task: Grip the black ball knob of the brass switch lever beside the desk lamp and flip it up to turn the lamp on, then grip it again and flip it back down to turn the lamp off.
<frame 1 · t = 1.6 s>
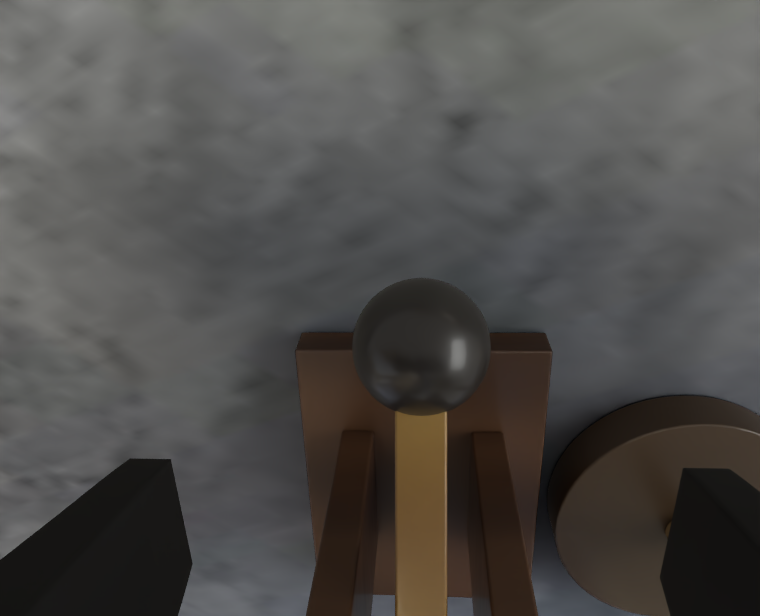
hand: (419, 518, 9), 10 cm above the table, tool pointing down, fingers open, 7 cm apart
switch bracket: (422, 462, 22), on the table
lamp switch: (421, 527, 14), point 7 cm above the table, hinge at -24.0°
desk lamp: (666, 494, 22), on the table
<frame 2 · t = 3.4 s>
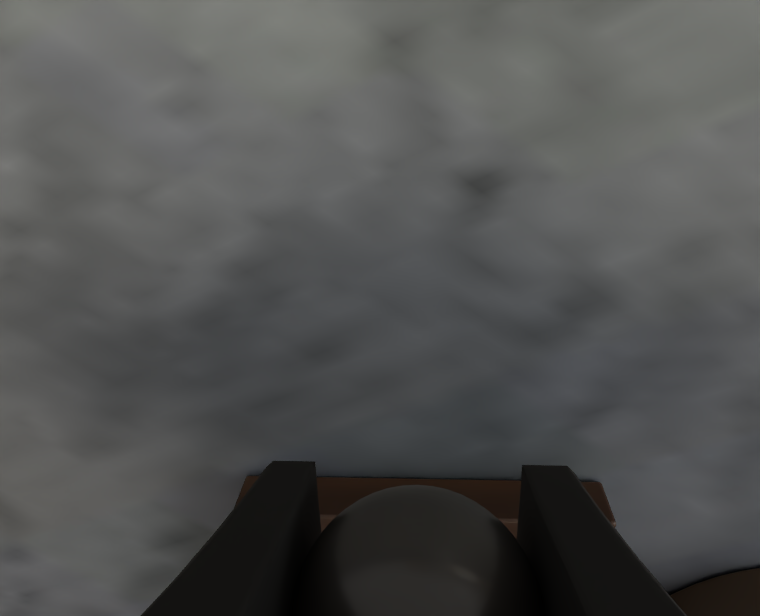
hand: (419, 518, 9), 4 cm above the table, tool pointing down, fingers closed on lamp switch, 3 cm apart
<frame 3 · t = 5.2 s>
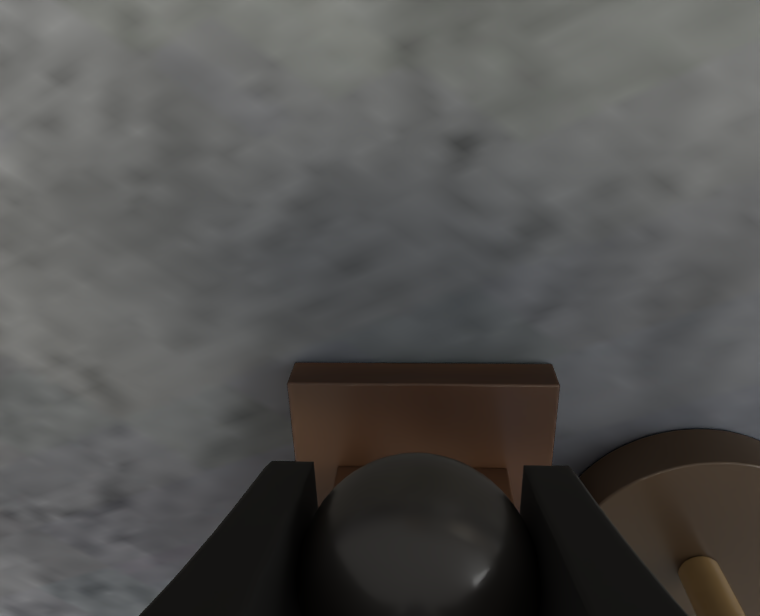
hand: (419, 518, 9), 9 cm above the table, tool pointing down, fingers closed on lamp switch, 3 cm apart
switch bracket: (422, 496, 21), on the table
desk lamp: (678, 530, 20), on the table
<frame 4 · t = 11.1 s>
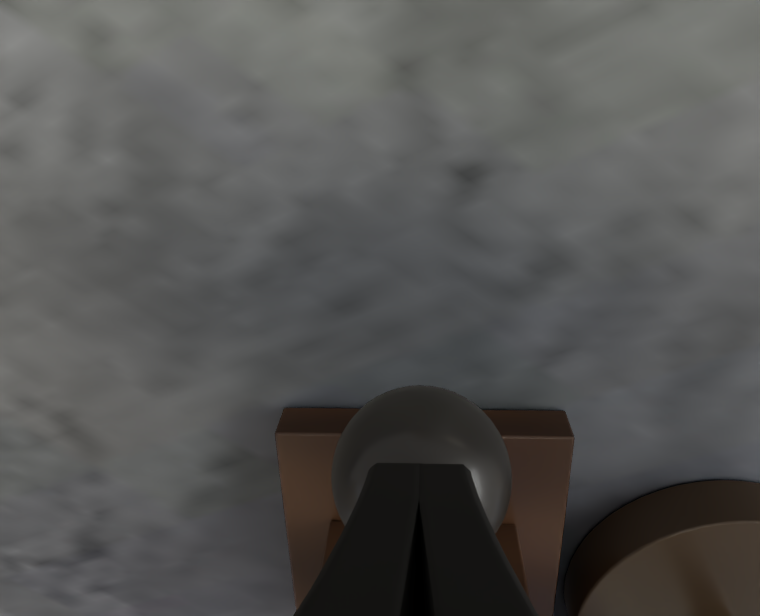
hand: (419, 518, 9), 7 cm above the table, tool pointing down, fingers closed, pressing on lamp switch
switch bracket: (422, 548, 19), on the table
desk lamp: (700, 585, 19), on the table
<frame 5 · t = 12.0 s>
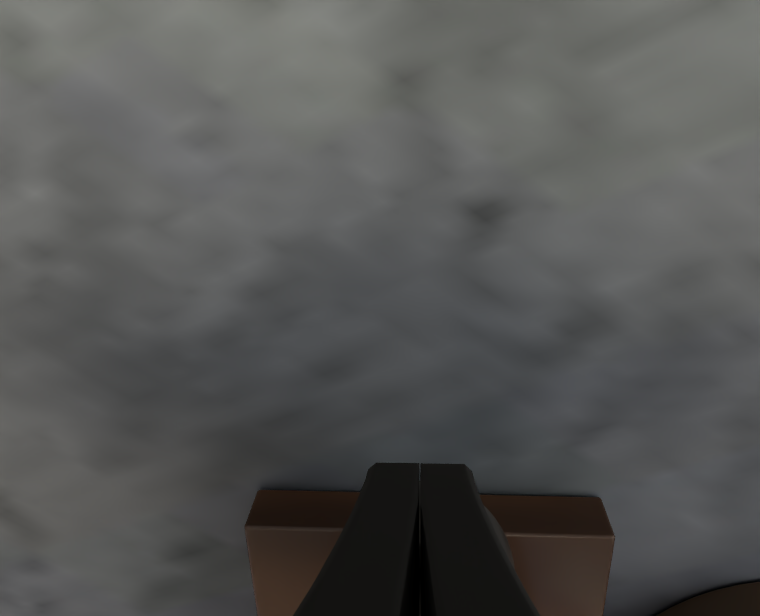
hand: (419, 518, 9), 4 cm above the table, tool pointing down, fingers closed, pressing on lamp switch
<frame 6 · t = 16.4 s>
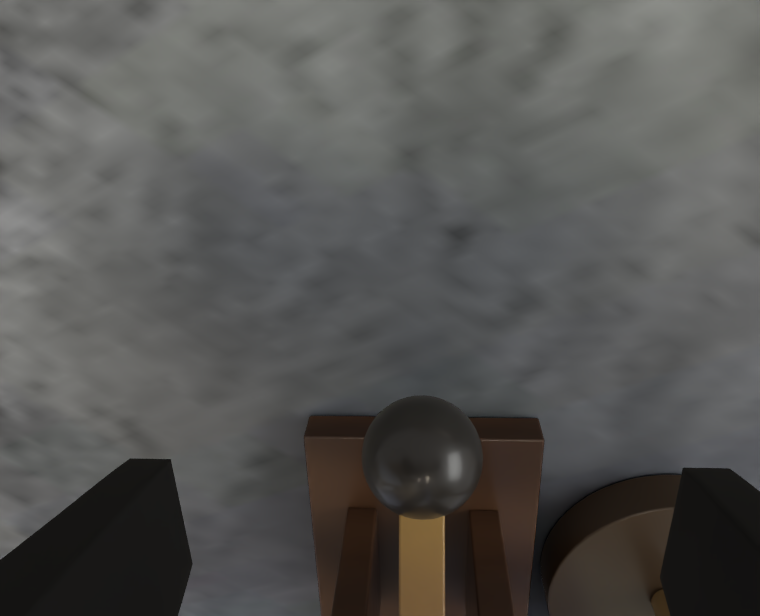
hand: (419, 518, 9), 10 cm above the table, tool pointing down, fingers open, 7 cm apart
switch bracket: (422, 531, 23), on the table
desk lamp: (653, 562, 23), on the table
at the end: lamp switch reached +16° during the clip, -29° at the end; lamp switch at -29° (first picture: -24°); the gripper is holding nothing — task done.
